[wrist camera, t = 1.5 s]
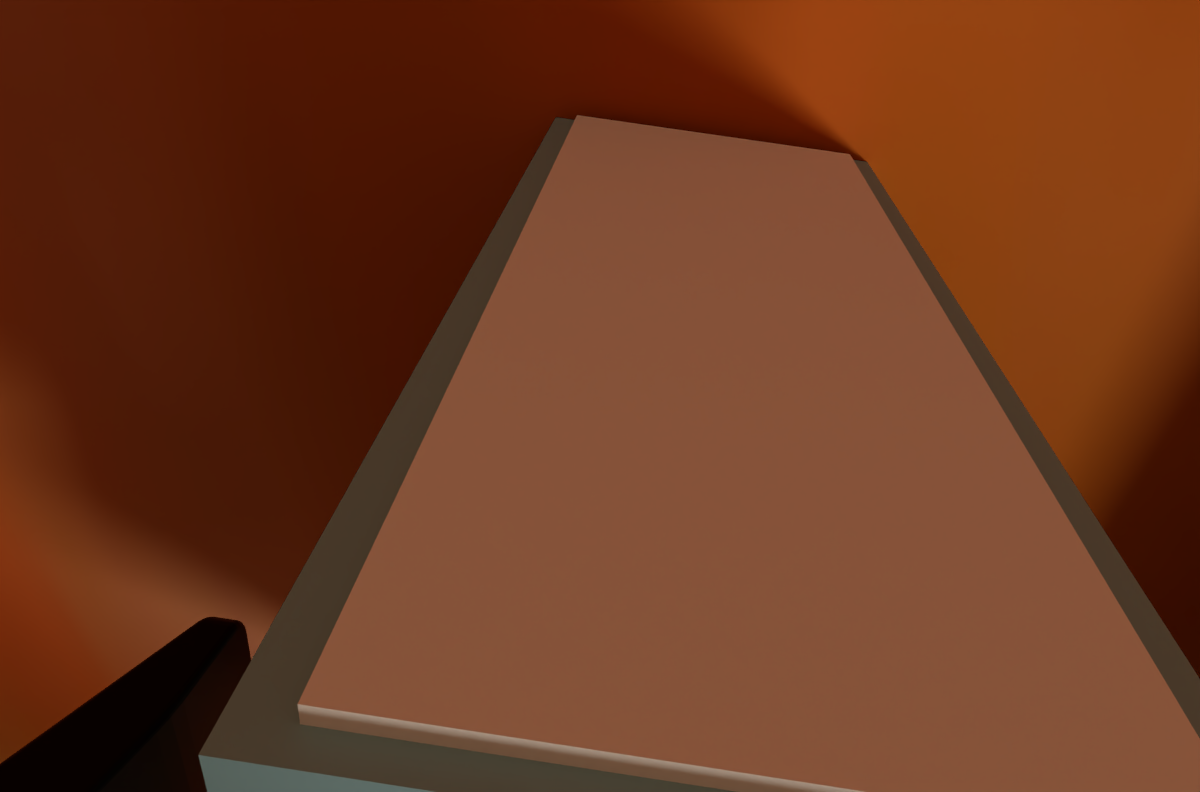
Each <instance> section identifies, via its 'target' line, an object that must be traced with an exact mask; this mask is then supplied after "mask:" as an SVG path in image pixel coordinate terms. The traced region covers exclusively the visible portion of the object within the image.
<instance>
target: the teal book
mask: <svg viewBox="0 0 1200 792" xmlns="http://www.w3.org/2000/svg"><path fill="white" fill-rule="evenodd" d="M198 756H199V760H200V764H201V768H202V772H203V776H204V780H205V784H206V788H207V792H1200V679H1199V677H1198V675H1197V674H1196V672H1195V671H1194V669H1193V668H1192V666H1191V665H1190V663H1189V661H1188V660H1187V658H1186V657H1185V655H1184V654H1183V652H1182V651H1181V649H1180V647H1179V646H1178V644H1177V643H1176V641H1175V640H1174V638H1173V637H1172V635H1171V633H1170V632H1169V630H1168V629H1167V627H1166V626H1165V624H1164V623H1163V621H1162V619H1161V618H1160V616H1159V615H1158V613H1157V612H1156V610H1155V609H1154V607H1153V605H1152V604H1151V602H1150V601H1149V599H1148V598H1147V596H1146V595H1145V593H1144V592H1143V590H1142V588H1141V587H1140V585H1139V584H1138V582H1137V581H1136V579H1135V578H1134V576H1133V574H1132V573H1131V571H1130V570H1129V568H1128V567H1127V565H1126V564H1125V562H1124V560H1123V559H1122V557H1121V556H1120V554H1119V553H1118V551H1117V550H1116V548H1115V546H1114V545H1113V543H1112V542H1111V540H1110V539H1109V537H1108V536H1107V534H1106V532H1105V531H1104V529H1103V528H1102V526H1101V525H1100V523H1099V522H1098V520H1097V518H1096V517H1095V515H1094V514H1093V512H1092V511H1091V509H1090V508H1089V506H1088V504H1087V503H1086V501H1085V500H1084V498H1083V497H1082V495H1081V494H1080V492H1079V490H1078V489H1077V487H1076V486H1075V484H1074V483H1073V481H1072V480H1071V478H1070V476H1069V475H1068V473H1067V472H1066V470H1065V469H1064V467H1063V466H1062V464H1061V463H1060V461H1059V459H1058V458H1057V456H1056V455H1055V453H1054V452H1053V450H1052V449H1051V447H1050V445H1049V444H1048V442H1047V441H1046V439H1045V438H1044V436H1043V435H1042V433H1041V431H1040V430H1039V428H1038V427H1037V425H1036V424H1035V422H1034V421H1033V419H1032V417H1031V416H1030V414H1029V413H1028V411H1027V410H1026V408H1025V407H1024V405H1023V403H1022V402H1021V400H1020V399H1019V397H1018V396H1017V394H1016V393H1015V391H1014V389H1013V388H1012V386H1011V385H1010V383H1009V382H1008V380H1007V379H1006V377H1005V375H1004V374H1003V372H1002V371H1001V369H1000V368H999V366H998V365H997V363H996V361H995V360H994V358H993V357H992V355H991V354H990V352H989V351H988V349H987V348H986V346H985V344H984V343H983V341H982V340H981V338H980V337H979V335H978V334H977V332H976V330H975V329H974V327H973V326H972V324H971V323H970V321H969V320H968V318H967V316H966V315H965V313H964V312H963V310H962V309H961V307H960V306H959V304H958V302H957V301H956V299H955V298H954V296H953V295H952V293H951V292H950V290H949V288H948V287H947V285H946V284H945V282H944V281H943V279H942V278H941V276H940V274H939V273H938V271H937V270H936V268H935V267H934V265H933V264H932V262H931V260H930V259H929V257H928V256H927V254H926V253H925V251H924V250H923V248H922V246H921V245H920V243H919V242H918V240H917V239H916V237H915V236H914V234H913V232H912V231H911V229H910V228H909V226H908V225H907V223H906V222H905V220H904V219H903V217H902V215H901V214H900V212H899V211H898V209H897V208H896V206H895V205H894V203H893V201H892V200H891V198H890V197H889V195H888V194H887V192H886V191H885V189H884V187H883V186H882V184H881V183H880V181H879V180H878V178H877V177H876V175H875V173H874V172H873V170H872V169H871V167H870V166H869V164H868V163H867V162H865V161H858V160H853V159H852V157H851V155H850V154H845V153H838V152H831V151H824V150H817V149H810V148H803V147H797V146H790V145H783V144H776V143H769V142H762V141H755V140H748V139H741V138H734V137H727V136H720V135H713V134H706V133H699V132H692V131H685V130H678V129H671V128H664V127H657V126H650V125H643V124H636V123H629V122H622V121H615V120H608V119H601V118H594V117H587V116H581V115H577V116H576V118H575V120H572V119H566V118H559V117H556V118H555V120H554V121H553V123H552V125H551V127H550V128H549V130H548V132H547V134H546V136H545V137H544V139H543V141H542V143H541V145H540V146H539V148H538V150H537V152H536V153H535V155H534V157H533V159H532V161H531V162H530V164H529V166H528V168H527V170H526V171H525V173H524V175H523V177H522V178H521V180H520V182H519V184H518V186H517V187H516V189H515V191H514V193H513V194H512V196H511V198H510V200H509V202H508V203H507V205H506V207H505V209H504V211H503V212H502V214H501V216H500V218H499V219H498V221H497V223H496V225H495V227H494V228H493V230H492V232H491V234H490V236H489V237H488V239H487V241H486V243H485V244H484V246H483V248H482V250H481V252H480V253H479V255H478V257H477V259H476V260H475V262H474V264H473V266H472V268H471V269H470V271H469V273H468V275H467V277H466V278H465V280H464V282H463V284H462V285H461V287H460V289H459V291H458V293H457V294H456V296H455V298H454V300H453V302H452V303H451V305H450V307H449V309H448V310H447V312H446V314H445V316H444V318H443V319H442V321H441V323H440V325H439V326H438V328H437V330H436V332H435V334H434V335H433V337H432V339H431V341H430V343H429V344H428V346H427V348H426V350H425V351H424V353H423V355H422V357H421V359H420V360H419V362H418V364H417V366H416V368H415V369H414V371H413V373H412V375H411V376H410V378H409V380H408V382H407V384H406V385H405V387H404V389H403V391H402V392H401V394H400V396H399V398H398V400H397V401H396V403H395V405H394V407H393V409H392V410H391V412H390V414H389V416H388V417H387V419H386V421H385V423H384V425H383V426H382V428H381V430H380V432H379V434H378V435H377V437H376V439H375V441H374V442H373V444H372V446H371V448H370V450H369V451H368V453H367V455H366V457H365V458H364V460H363V462H362V464H361V466H360V467H359V469H358V471H357V473H356V475H355V476H354V478H353V480H352V482H351V483H350V485H349V487H348V489H347V491H346V492H345V494H344V496H343V498H342V500H341V501H340V503H339V505H338V507H337V508H336V510H335V512H334V514H333V516H332V517H331V519H330V521H329V523H328V524H327V526H326V528H325V530H324V532H323V533H322V535H321V537H320V539H319V541H318V542H317V544H316V546H315V548H314V549H313V551H312V553H311V555H310V557H309V558H308V560H307V562H306V564H305V566H304V567H303V569H302V571H301V573H300V574H299V576H298V578H297V580H296V582H295V583H294V585H293V587H292V589H291V591H290V592H289V594H288V596H287V598H286V599H285V601H284V603H283V605H282V607H281V608H280V610H279V612H278V614H277V615H276V617H275V619H274V621H273V623H272V624H271V626H270V628H269V630H268V632H267V633H266V635H265V637H264V639H263V640H262V642H261V644H260V646H259V648H258V649H257V651H256V653H255V655H254V656H253V658H252V660H251V662H250V664H249V665H248V667H247V669H246V671H245V673H244V674H243V676H242V678H241V680H240V681H239V683H238V685H237V687H236V689H235V690H234V692H233V694H232V696H231V698H230V699H229V701H228V703H227V705H226V706H225V708H224V710H223V712H222V714H221V715H220V717H219V719H218V721H217V723H216V724H215V726H214V728H213V730H212V731H211V733H210V735H209V737H208V739H207V740H206V742H205V744H204V746H203V747H202V749H201V751H200V753H199V755H198Z"/></svg>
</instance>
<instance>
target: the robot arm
mask: <svg viewBox="0 0 1200 792" xmlns="http://www.w3.org/2000/svg"><path fill="white" fill-rule="evenodd" d="M250 662H251V657H250V651H249V645H248V639H247V633H246V629H245V626H244V625H243V623H242V622H240V621H238V620H232V619H225V618H218V617H207V618H204V619H202V620H200V621H199V622H197V623H196V624H194V625H193V626H192V627H190V628H189V629H187V630H186V631H185V632H183V633H182V634H180V635H179V636H178V637H176V638H175V639H173V640H172V641H171V642H169V643H168V644H166V645H165V646H164V647H162V648H161V649H159V650H158V651H157V652H155V653H154V654H153V655H151V656H150V657H148V658H147V659H146V660H144V661H143V662H141V663H140V664H139V665H137V666H136V667H134V668H133V669H132V670H130V671H129V672H127V673H126V674H125V675H123V676H122V677H120V678H119V679H118V680H116V681H115V682H113V683H112V684H111V685H109V686H108V687H106V688H105V689H104V690H102V691H101V692H100V693H98V694H97V695H95V696H94V697H93V698H91V699H90V700H88V701H87V702H86V703H84V704H83V705H81V706H80V707H79V708H77V709H76V710H74V711H73V712H72V713H70V714H69V715H67V716H66V717H65V718H63V719H62V720H60V721H59V722H58V723H56V724H55V725H53V726H52V727H51V728H49V729H48V730H46V731H45V732H44V733H42V734H41V735H40V736H38V737H37V738H35V739H34V740H33V741H31V742H30V743H28V744H27V745H26V746H24V747H23V748H21V749H20V750H19V751H17V752H16V753H14V754H13V755H12V756H10V757H9V758H7V759H6V760H5V761H3V762H2V763H0V792H207V788H206V784H205V780H204V776H203V772H202V768H201V764H200V760H199V756H198V755H199V753H200V751H201V749H202V747H203V746H204V744H205V742H206V740H207V739H208V737H209V735H210V733H211V731H212V730H213V728H214V726H215V724H216V723H217V721H218V719H219V717H220V715H221V714H222V712H223V710H224V708H225V706H226V705H227V703H228V701H229V699H230V698H231V696H232V694H233V692H234V690H235V689H236V687H237V685H238V683H239V681H240V680H241V678H242V676H243V674H244V673H245V671H246V669H247V667H248V665H249V664H250Z"/></svg>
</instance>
